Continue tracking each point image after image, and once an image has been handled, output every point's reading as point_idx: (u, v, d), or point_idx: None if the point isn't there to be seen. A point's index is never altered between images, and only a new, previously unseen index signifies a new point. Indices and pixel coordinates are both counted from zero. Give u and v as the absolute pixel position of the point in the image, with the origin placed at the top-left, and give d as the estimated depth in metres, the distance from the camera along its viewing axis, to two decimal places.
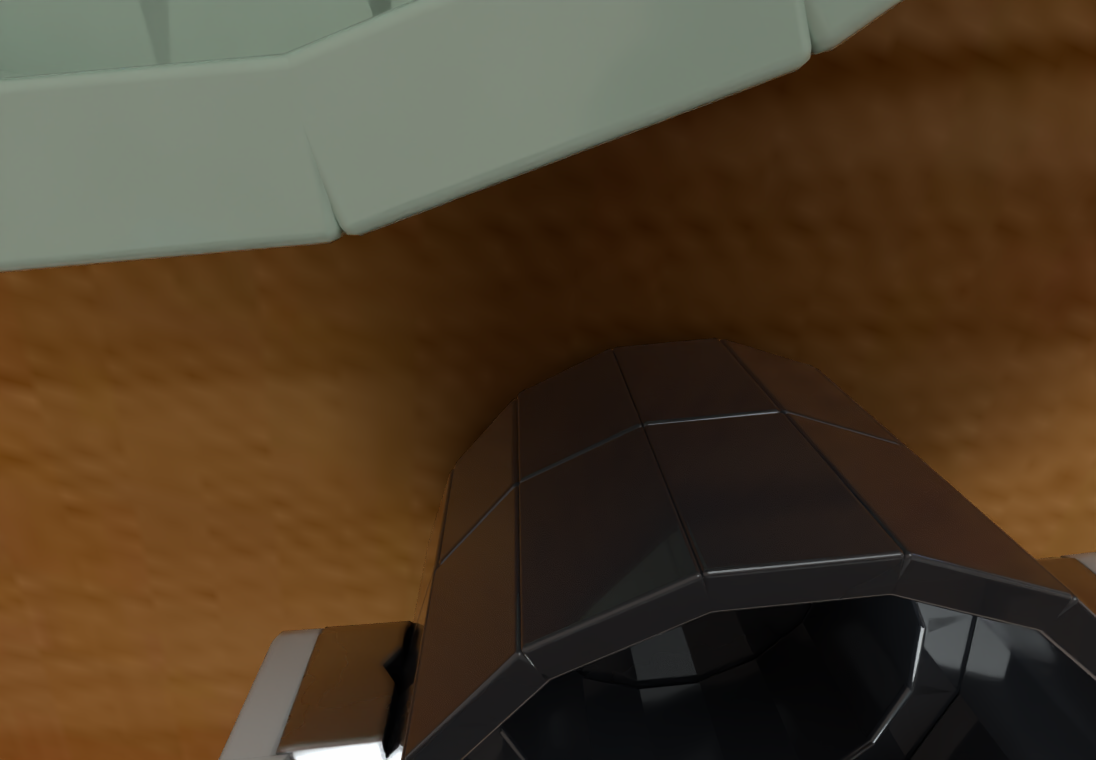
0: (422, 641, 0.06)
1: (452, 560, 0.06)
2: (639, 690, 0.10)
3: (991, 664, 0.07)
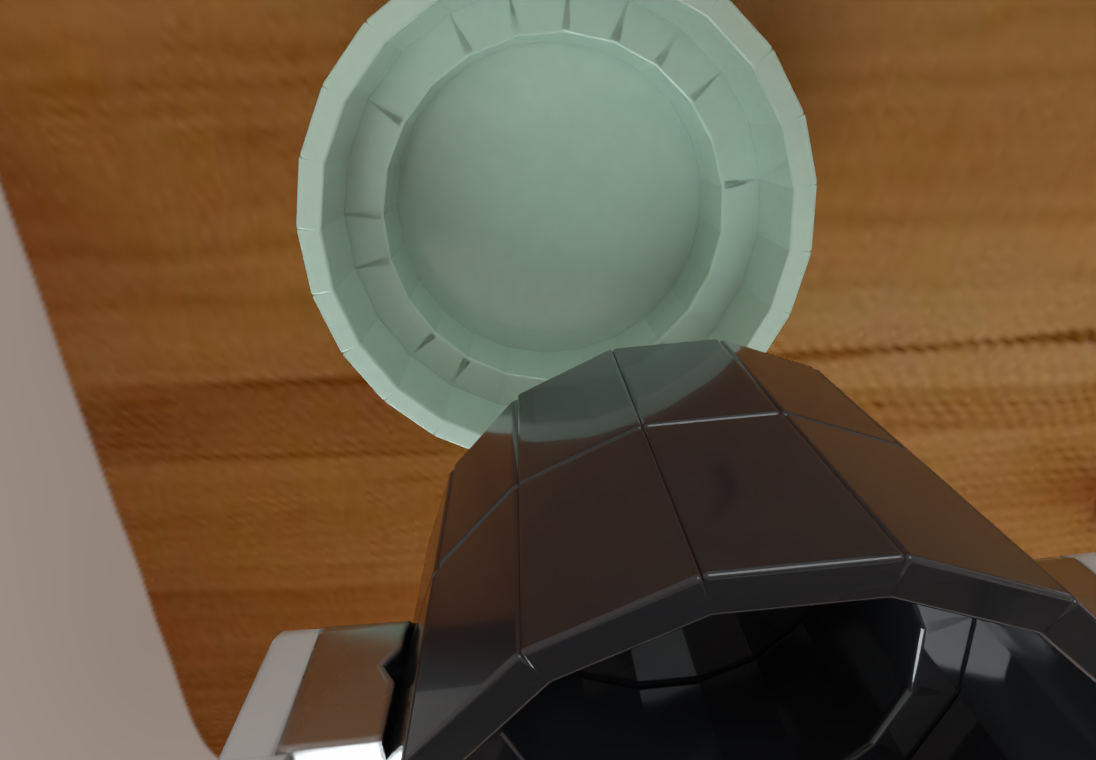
0: (422, 643, 0.06)
1: (452, 562, 0.06)
2: (639, 690, 0.10)
3: (991, 666, 0.07)
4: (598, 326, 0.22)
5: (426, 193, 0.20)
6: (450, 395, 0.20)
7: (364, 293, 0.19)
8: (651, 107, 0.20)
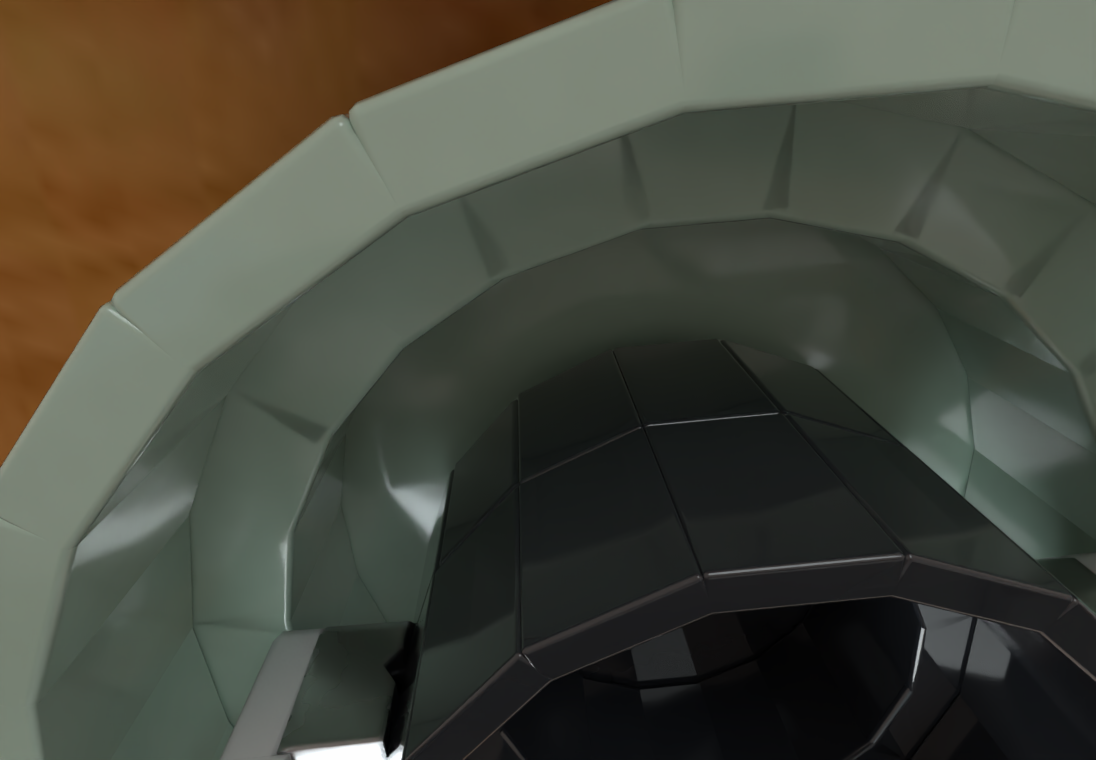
0: (422, 642, 0.06)
1: (452, 561, 0.06)
2: (639, 690, 0.10)
3: (991, 665, 0.07)
4: None
5: (401, 485, 0.10)
6: None
7: None
8: (892, 319, 0.09)
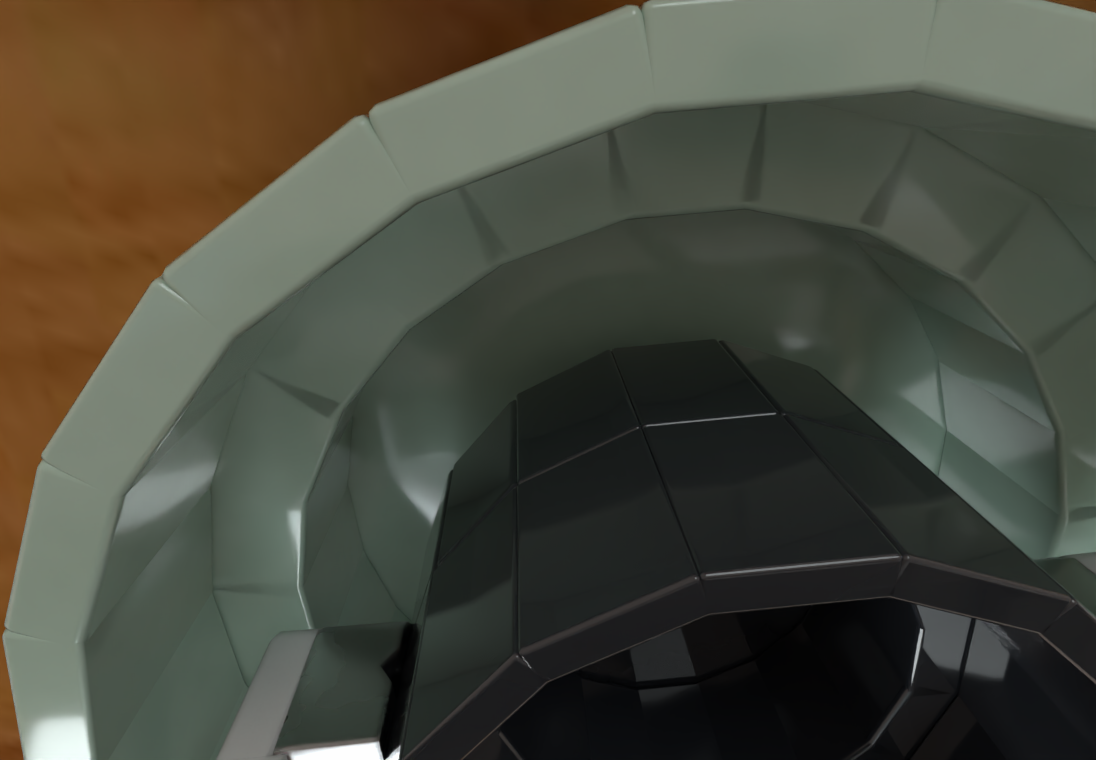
0: (420, 643, 0.06)
1: (450, 562, 0.06)
2: (638, 691, 0.10)
3: (990, 666, 0.07)
4: None
5: (405, 465, 0.10)
6: None
7: None
8: (867, 307, 0.10)
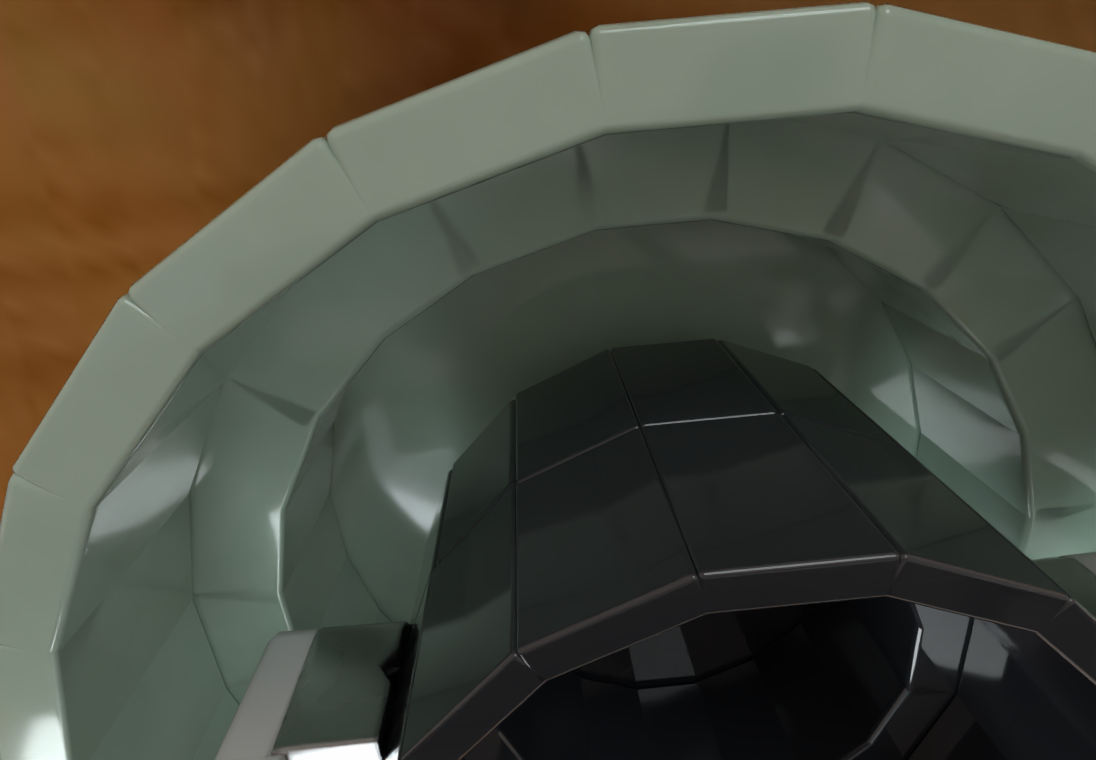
0: (419, 642, 0.06)
1: (449, 561, 0.06)
2: (637, 690, 0.10)
3: (988, 665, 0.07)
4: None
5: (387, 471, 0.10)
6: None
7: None
8: (840, 312, 0.10)
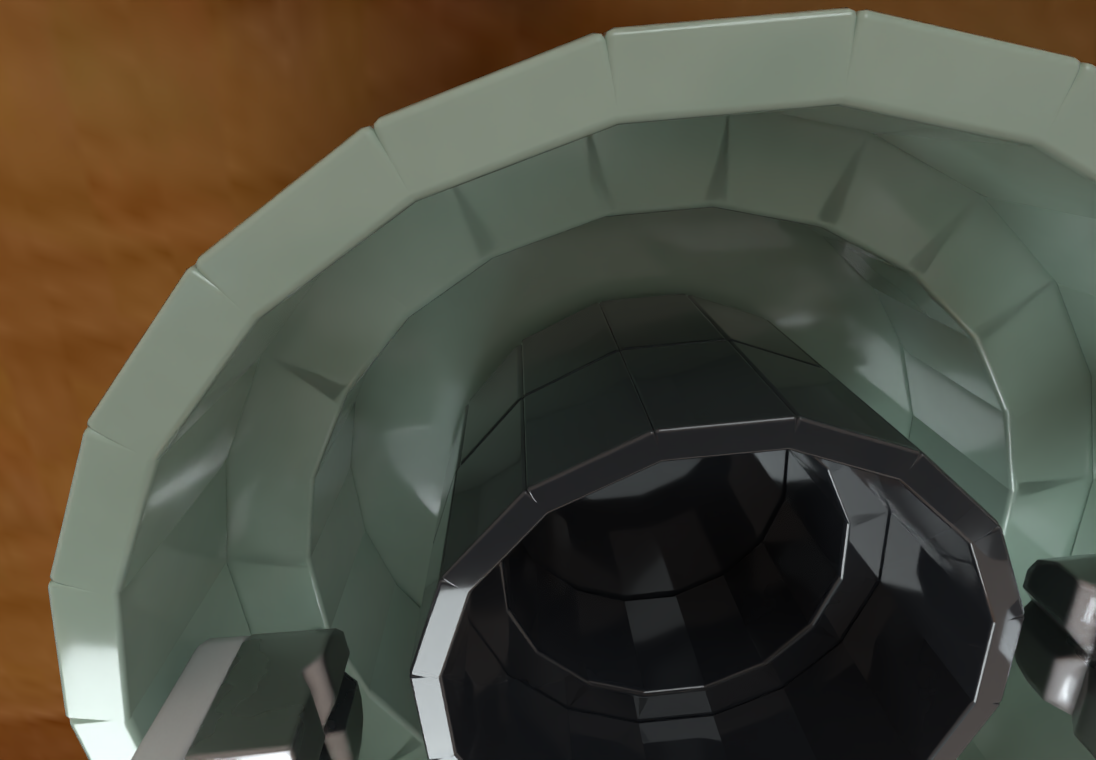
0: (450, 513, 0.07)
1: (471, 459, 0.08)
2: (624, 602, 0.12)
3: (900, 549, 0.09)
4: None
5: (404, 449, 0.11)
6: None
7: None
8: (836, 299, 0.10)
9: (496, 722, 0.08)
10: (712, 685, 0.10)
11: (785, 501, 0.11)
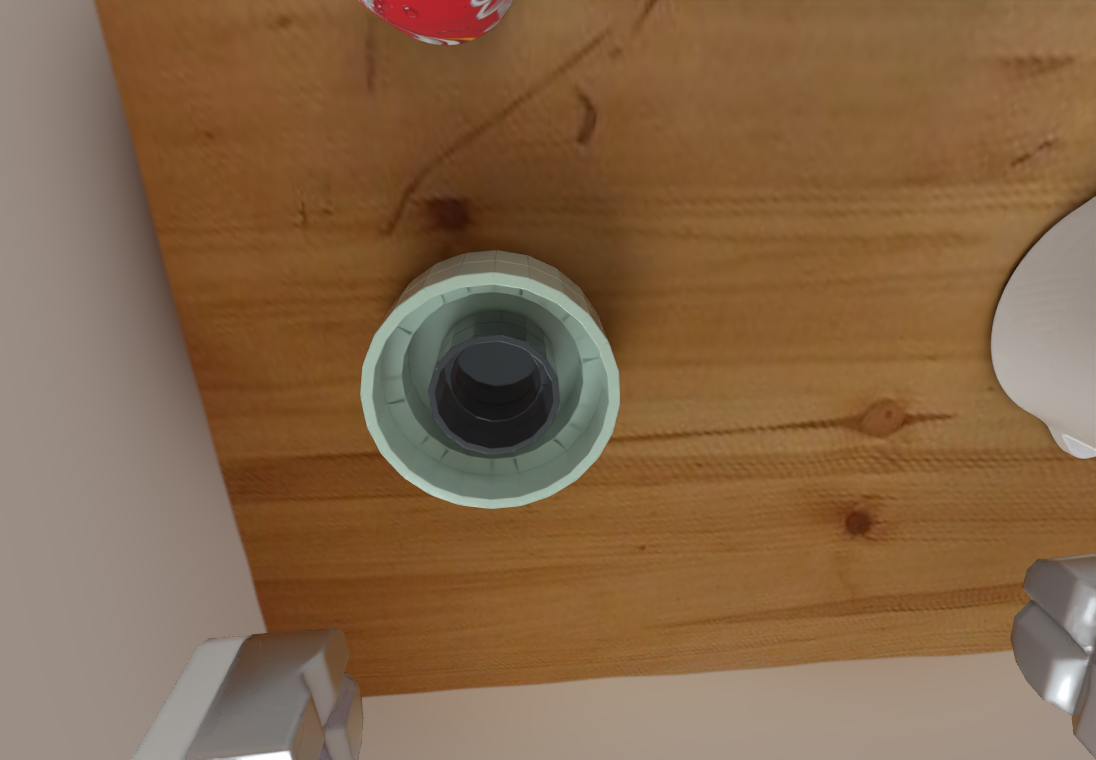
0: None
1: (442, 350, 0.34)
2: (493, 406, 0.37)
3: None
4: None
5: (424, 355, 0.37)
6: (438, 469, 0.36)
7: (391, 417, 0.35)
8: (547, 311, 0.36)
9: (448, 417, 0.34)
10: (511, 419, 0.36)
11: (538, 371, 0.37)
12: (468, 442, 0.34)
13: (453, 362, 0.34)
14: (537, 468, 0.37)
